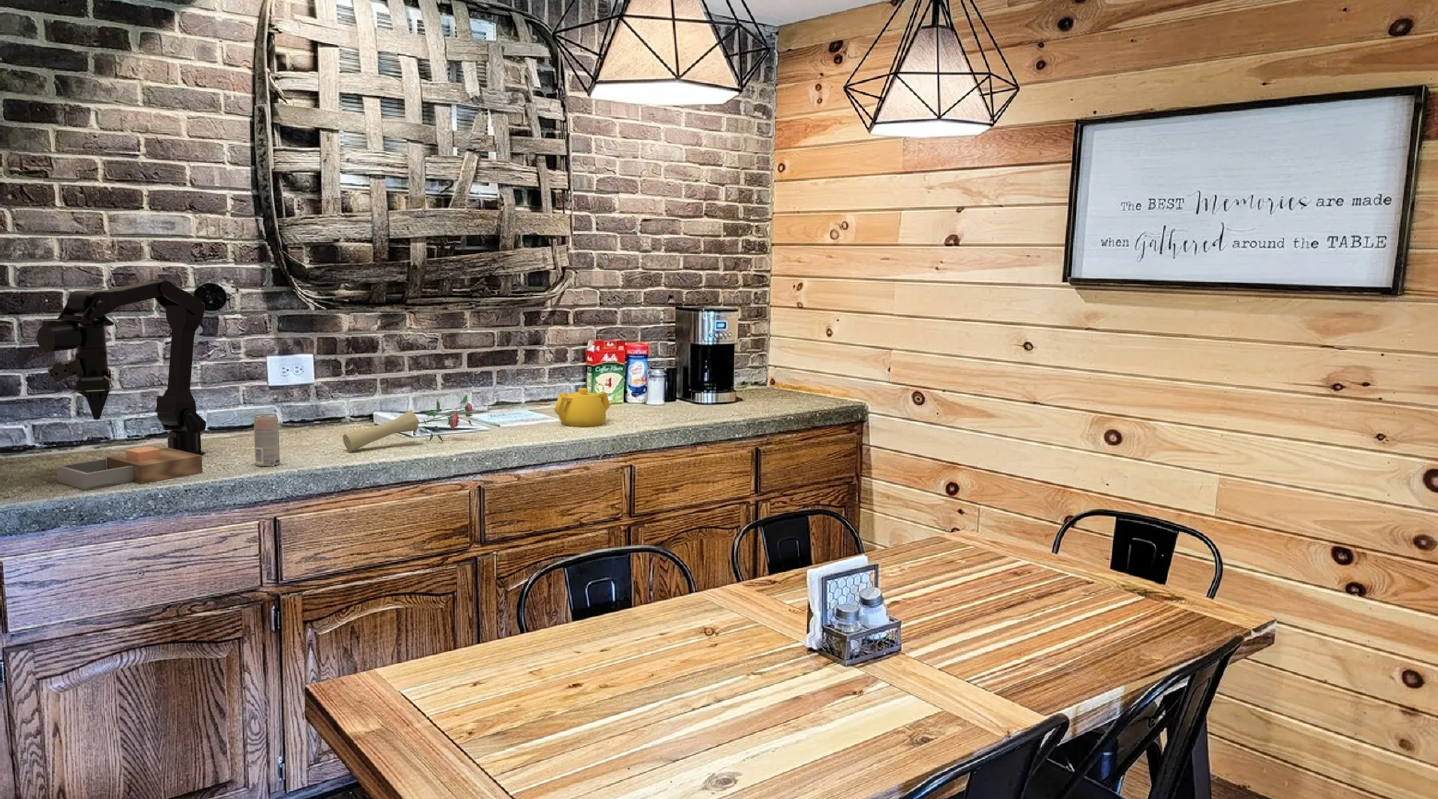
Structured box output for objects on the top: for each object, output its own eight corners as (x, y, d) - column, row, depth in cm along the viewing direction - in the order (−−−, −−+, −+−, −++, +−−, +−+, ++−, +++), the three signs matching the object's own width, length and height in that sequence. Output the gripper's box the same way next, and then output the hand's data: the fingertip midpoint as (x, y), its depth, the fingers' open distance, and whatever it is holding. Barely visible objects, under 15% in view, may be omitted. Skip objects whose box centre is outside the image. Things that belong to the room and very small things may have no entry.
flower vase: (351, 476, 265) (467, 433, 287) (367, 471, 255) (485, 427, 277) (335, 434, 264) (452, 394, 286) (350, 428, 254) (470, 387, 277)
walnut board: (168, 463, 240) (167, 447, 240) (202, 472, 233) (201, 455, 232) (107, 474, 228) (106, 457, 228) (141, 483, 221) (140, 465, 221)
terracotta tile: (148, 454, 231) (148, 446, 231) (160, 457, 229) (160, 449, 228) (126, 458, 227) (125, 449, 227) (138, 461, 225) (138, 452, 224)
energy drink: (276, 461, 247) (274, 413, 245) (282, 465, 242) (280, 416, 241) (253, 463, 243) (251, 414, 241) (258, 467, 239) (257, 418, 237)
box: (105, 473, 229) (104, 458, 228) (134, 481, 223) (133, 466, 222) (57, 481, 220) (56, 466, 220) (86, 490, 214) (85, 474, 214)
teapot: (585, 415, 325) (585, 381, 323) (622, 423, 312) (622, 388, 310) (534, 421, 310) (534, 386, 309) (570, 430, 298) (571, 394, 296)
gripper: (51, 343, 228) (57, 411, 231) (45, 354, 212) (51, 426, 215) (108, 341, 234) (114, 407, 237) (106, 351, 218) (112, 422, 221)
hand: (97, 415), depth 227 cm, fingers open, 9 cm apart
